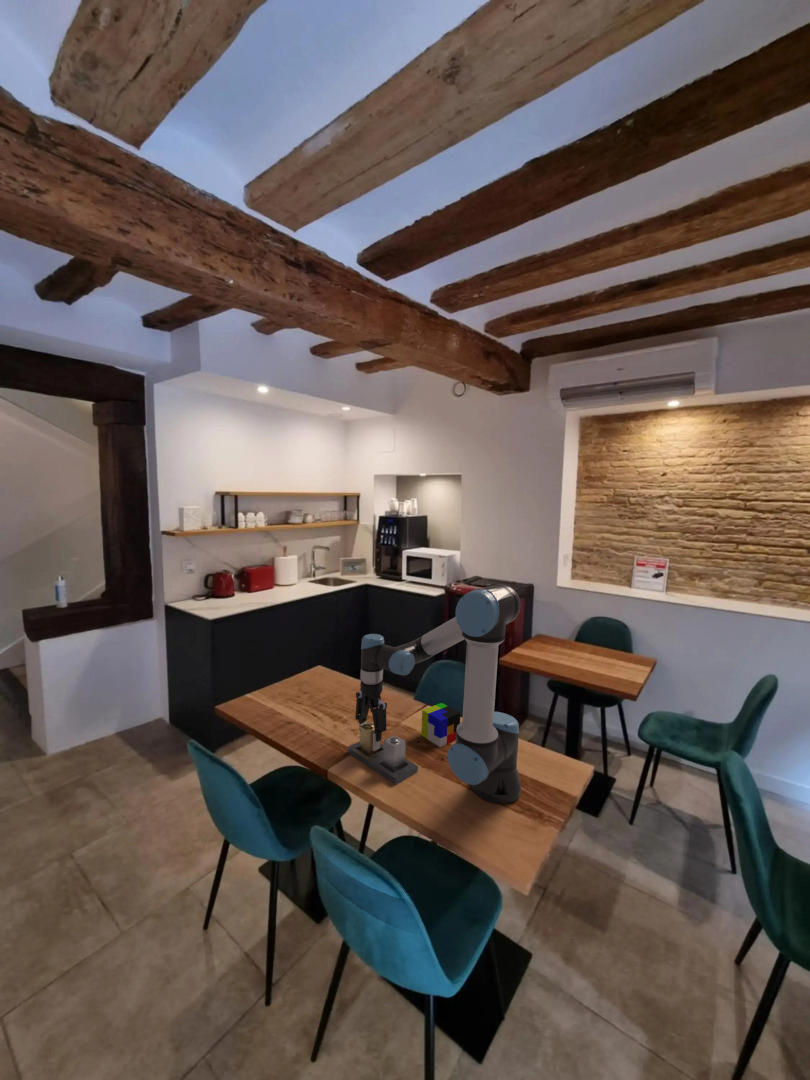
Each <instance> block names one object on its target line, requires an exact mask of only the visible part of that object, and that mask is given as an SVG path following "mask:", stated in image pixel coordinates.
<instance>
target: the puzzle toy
mask: <svg viewBox="0 0 810 1080" xmlns="http://www.w3.org/2000/svg"><path fill="white" fill-rule="evenodd" d="M421 711H422V712H421V716H422V717H421V733H420V736H422V737H423V738H425V739H427V740H428V741H429V742H431V743H432V744H434V745H436V746H437V747H439V748H441V747H443V746H445V745H448V744H451V743H453V742H456V729H457V726H458V725H459V724H460V723H461V712H459V711H458V710H456V709H454V708H452V707H450V706H448V705H446V704H445V703H443V702H441V703H437V704H435V705H432V706H430V707H426V708H424V709H422V710H421Z"/></svg>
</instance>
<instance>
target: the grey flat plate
mask: <svg viewBox="0 0 810 1080" xmlns="http://www.w3.org/2000/svg"><path fill="white" fill-rule="evenodd" d="M346 753H347V754H349V755H350V756H352V757H354V759H356V760H357V761H359V762H361V763H362V764H364V765H365V766H366V767H368V768H369V769H371V770H373V771H374V772H376V773H377V774H378V775H380V776H381V777H383V779H386V780H387V781H389V782H390V783H392V784H393V785H395V786H397V785H398V784H400V783H402V782H403V781H405V780H406V779H408V778H410V777H411V776H413V775H415V774H417V773H418V771H419V769H418V768H419V766H418V765H417V764H415V763H414V762H412V761H410V760H409V759H407V758H406V757H405V767H404V768H402V769H400V770H399V771H397V772H395V773H392V772H391V771H389V770H388V769H386V768H385V767H383V753H384V744H383V743H381V742H380V752H378V753H376V754H374V755H372V756H370V757H368V756H366V755H365V754H363V753H362V752H360V740H359V741H357V742H355V743H353V744H351V745H349V746H347V752H346Z"/></svg>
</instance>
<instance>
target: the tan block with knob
mask: <svg viewBox="0 0 810 1080" xmlns="http://www.w3.org/2000/svg"><path fill="white" fill-rule="evenodd" d="M359 727H360V730H359V741H360V752H362V753H363V754H365V755H366V756H368V757H370V756H372V755H374V754H376V753H378V752H380V748H379V749H377V750H375V751H373V732H374V731H375V728H374V722H373V721H370V722H368V723H367V724H365V725H362V726H360V725H359Z"/></svg>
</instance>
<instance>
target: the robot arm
mask: <svg viewBox="0 0 810 1080" xmlns="http://www.w3.org/2000/svg"><path fill="white" fill-rule="evenodd" d="M521 604H522V603H521V598H520V596H519V594H518V593H517V592H516V590H515V589H514V588H512V587H511V586H508V585H506V584H503V583H502V584H500V583H499V584H493V585H490V586H486V587H482V588H476V589H473V590H471V591H469V592H468V593H465V594H464V595H462V596H461V598H460V599H459V600H458V602H457V605H456V607H455V612H454V613H455V616H454V617H453V618H451V619H449V620H447V621H445V622H444V623H442V624H441V625H439V626H437V627H436V628H434V629H432V630H430V631H428V632H426V633H425V634H423V635H421V636H420V637H417V638H416V639H414V640H412V641H409V642H407V643H404V644H401V645H398V646H395V647H394V646H391V645H387V644H385V638H384V636H383V635H381V634H378V633H369V634H365V635H363V636H362V638H361V645H360V647H361V648H360V653H361V654H360V691H357V692H355V697H356V703H355V704H356V705H355V720H357V721H358V723H359V731H360V726H362V725H365V724H367V723H369V722H367V721H368V716H369V711H370V712H371V715H372V720H373V721H372V722H373V723H374V728H375V731H374V732H373V751H375V750H377V749H379V748H380V743H381V741H382V735H383V734H382V733H384V732H386V731H387V708H388V703H387V702H383V701H382V697H381V696H382V695H381V694H382V692H383V689H384V687H383V685H384V682H383V679H384V678H383V677H384V676H383V675H384V670H386V671H388V672H390V673H393V674H396V675H400V676H408V675H409V674H410V673H411V672H412V671H413V669H414V668H415V667H414V666H415V665H416V664H420V663H421V662H424V661H427V660H429V659H431V658H432V657H433V656H435V655H437V654H439V653H441V652H443V651H444V650H447V649H448V648H450V647H453V646H454V645H456V644H458V643H460V642H462V641H464V640H465V641H466V651H465V653H466V655H465V668H464V669H465V670H464V671H465V672H464V690H463V705H462V721H460V724H459V725H458V726H457V729H456V740H455V741H454V742H455V743H453V744H451V746H450V747H449V749H448V752H447V762H448V765H449V768H450V770H451V771H452V772H453V773H454V775H455V776H456V778H458V779H459V780H460V781H461V782H463V783H465V784H467V785H470V786H471V789H472V790H473V792H474V793H475V794H476V795H477V796H478V797H479V798H481V799H482V800H484V801H487V802H490V803H492V804H500V805H501V804H502V805H504V804H505V805H506V804H511V803H514V802H516V801H517V800H519V798H520V797H521V794H522V782H521V778H520V775H519V771H518V767H517V765H518V751H519V736H520V735H519V734H520V730H519V729H520V728H519V726H520V724H519V722H518V720H517V719H516V718H515V717H514V716H512V715H510V714H507V713H504V712H500V711H495V705H496V704H495V703H496V701H495V700H496V688H497V687H496V686H497V674H498V673H497V672H498V658H499V657H498V655H499V645H501V644H502V643H503V642H505V638H506V628H507V627H506V625H509V624H510V623H512V622H513V621H515V620H516V618H517V617H519V616H518V615H520V612H521Z"/></svg>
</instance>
